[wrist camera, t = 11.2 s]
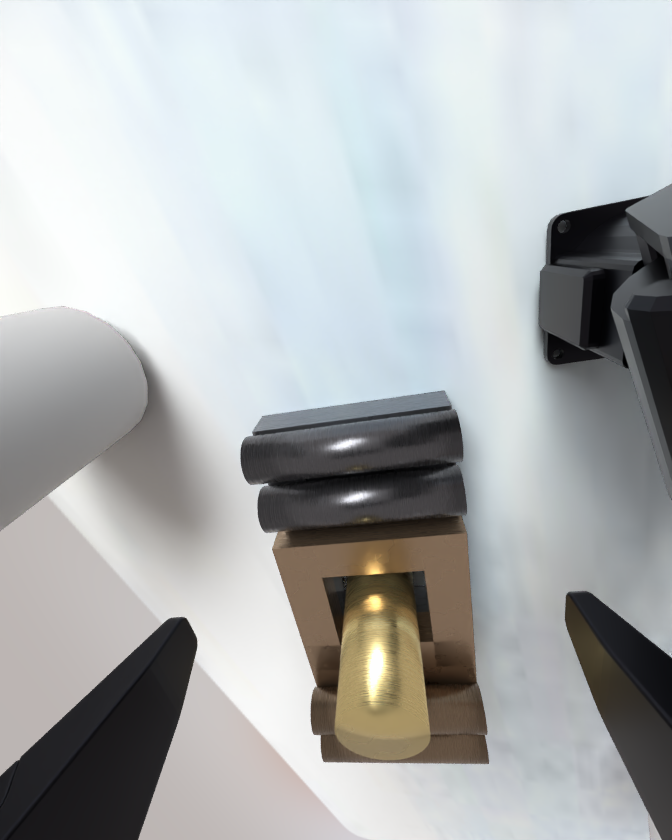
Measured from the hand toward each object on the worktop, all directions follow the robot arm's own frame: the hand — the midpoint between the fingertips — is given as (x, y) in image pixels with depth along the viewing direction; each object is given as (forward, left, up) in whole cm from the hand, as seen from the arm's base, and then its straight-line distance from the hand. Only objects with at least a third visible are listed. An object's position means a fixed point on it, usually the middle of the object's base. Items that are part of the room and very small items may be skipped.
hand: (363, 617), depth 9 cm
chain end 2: (+1, +14, -13) cm, 19 cm away
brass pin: (+1, +11, -13) cm, 17 cm away
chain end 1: (+1, +8, -13) cm, 15 cm away
